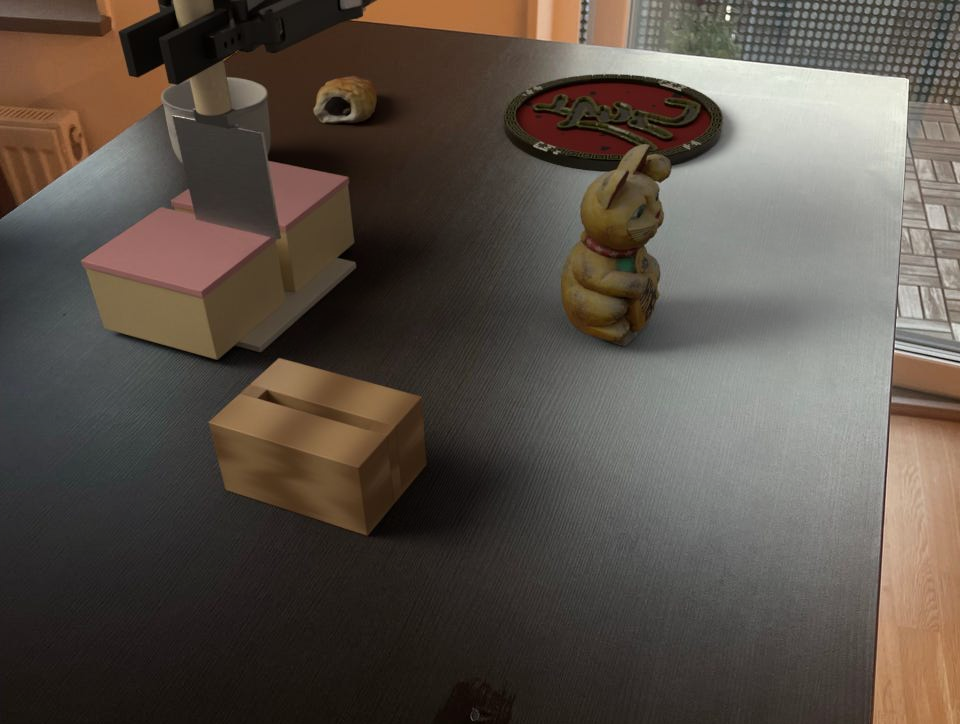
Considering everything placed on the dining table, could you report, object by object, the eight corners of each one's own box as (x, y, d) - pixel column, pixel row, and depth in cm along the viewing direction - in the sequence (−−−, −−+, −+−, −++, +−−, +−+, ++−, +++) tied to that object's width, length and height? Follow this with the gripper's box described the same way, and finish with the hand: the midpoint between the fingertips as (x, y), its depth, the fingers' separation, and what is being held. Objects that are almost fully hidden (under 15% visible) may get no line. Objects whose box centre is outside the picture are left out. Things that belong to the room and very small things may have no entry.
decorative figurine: (631, 364, 85) (650, 183, 74) (539, 343, 88) (544, 164, 77) (667, 308, 91) (690, 132, 80) (580, 290, 94) (590, 116, 82)
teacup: (179, 153, 115) (161, 76, 109) (276, 144, 117) (264, 67, 111) (177, 208, 106) (158, 127, 100) (283, 198, 107) (270, 117, 101)
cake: (87, 330, 90) (62, 255, 85) (236, 221, 104) (222, 151, 99) (238, 372, 85) (221, 296, 80) (373, 252, 99) (366, 180, 94)
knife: (187, 226, 82) (129, -19, 69) (206, 212, 83) (153, -30, 71) (270, 246, 79) (226, -5, 67) (289, 231, 81) (249, -16, 68)
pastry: (336, 93, 126) (333, 60, 124) (389, 97, 125) (387, 63, 123) (312, 124, 120) (307, 89, 118) (367, 128, 119) (364, 93, 116)
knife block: (225, 490, 75) (207, 422, 71) (291, 424, 80) (278, 357, 76) (367, 536, 71) (358, 467, 67) (427, 464, 77) (422, 396, 72)
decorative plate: (682, 176, 106) (466, 136, 114) (681, 187, 107) (466, 147, 115) (750, 92, 121) (555, 62, 129) (748, 102, 122) (555, 72, 130)
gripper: (425, 27, 82) (256, 137, 68) (262, 2, 87) (73, 100, 73) (420, -86, 77) (235, 9, 63) (246, -105, 82) (38, -22, 67)
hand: (148, 58), depth 68 cm, fingers closed on knife, 3 cm apart
